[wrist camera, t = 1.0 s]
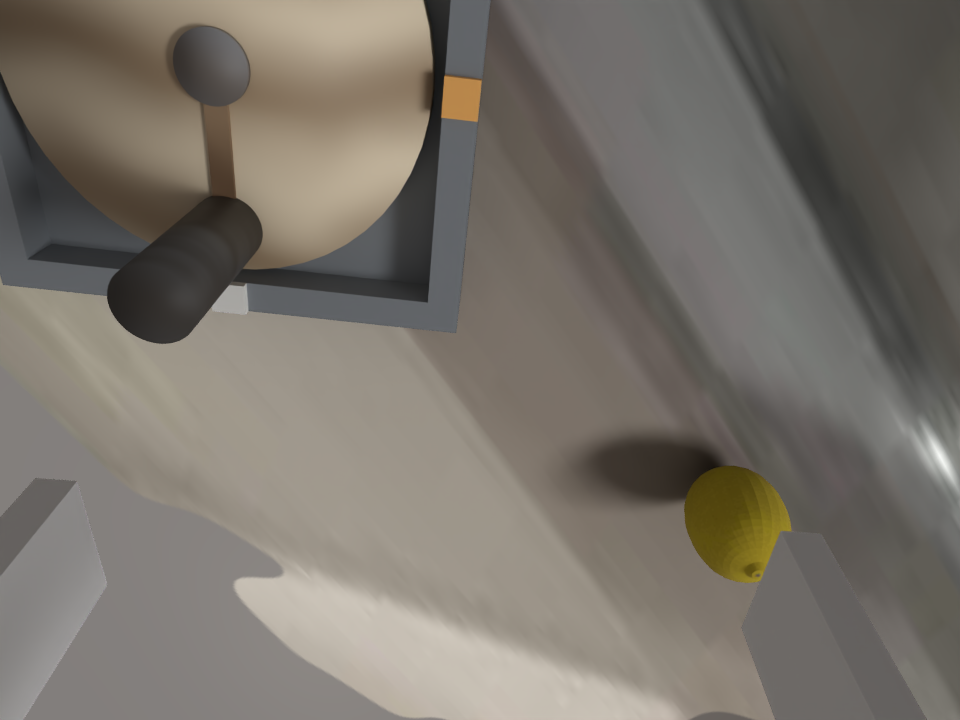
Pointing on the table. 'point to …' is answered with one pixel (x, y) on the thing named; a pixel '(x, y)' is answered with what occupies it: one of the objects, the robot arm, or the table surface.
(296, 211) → the dial
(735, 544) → the lemon
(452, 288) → the dial frame
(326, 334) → the table surface
